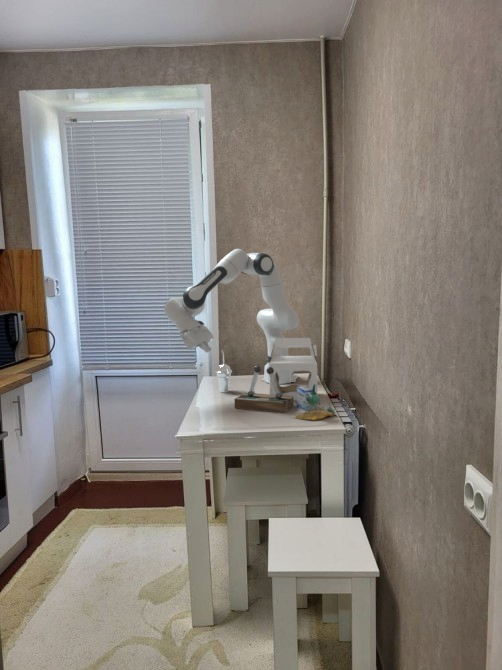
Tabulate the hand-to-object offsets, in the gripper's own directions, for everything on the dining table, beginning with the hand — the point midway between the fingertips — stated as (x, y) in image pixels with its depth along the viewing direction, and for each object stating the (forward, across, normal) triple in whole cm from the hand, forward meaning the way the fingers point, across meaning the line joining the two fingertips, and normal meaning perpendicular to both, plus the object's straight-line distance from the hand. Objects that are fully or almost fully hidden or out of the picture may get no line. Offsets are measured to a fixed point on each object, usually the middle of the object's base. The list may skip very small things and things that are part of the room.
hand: (209, 351), depth 218 cm
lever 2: (+37, -2, -12) cm, 39 cm away
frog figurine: (+52, -10, -23) cm, 58 cm away
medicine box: (+47, +2, -17) cm, 50 cm away
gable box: (+41, +18, -9) cm, 45 cm away
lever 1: (+28, -2, -2) cm, 28 cm away
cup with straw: (+17, +18, +18) cm, 30 cm away
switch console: (+35, -2, -4) cm, 36 cm away
